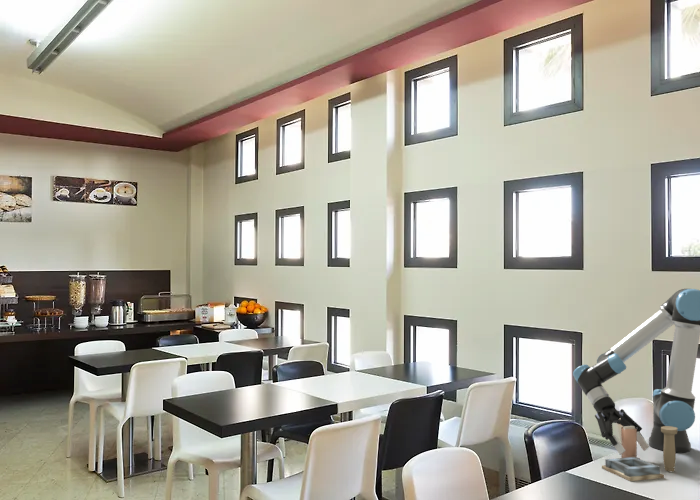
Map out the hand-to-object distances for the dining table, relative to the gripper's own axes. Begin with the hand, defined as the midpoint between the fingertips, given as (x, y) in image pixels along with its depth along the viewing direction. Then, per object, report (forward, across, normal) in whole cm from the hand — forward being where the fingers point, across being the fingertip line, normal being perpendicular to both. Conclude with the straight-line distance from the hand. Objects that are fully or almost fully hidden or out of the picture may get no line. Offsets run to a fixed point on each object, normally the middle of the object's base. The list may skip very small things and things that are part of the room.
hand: (634, 450), depth 224 cm
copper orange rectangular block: (+1, 0, -5) cm, 5 cm away
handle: (+11, -4, +5) cm, 13 cm away
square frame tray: (+9, +11, +2) cm, 14 cm away
